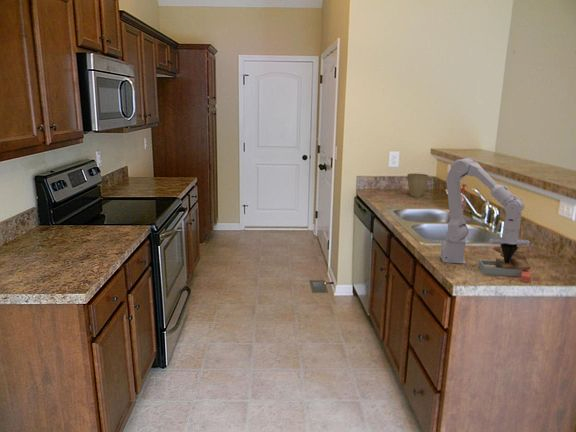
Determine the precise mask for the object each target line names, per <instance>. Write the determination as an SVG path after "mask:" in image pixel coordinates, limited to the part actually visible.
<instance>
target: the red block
mask: <svg viewBox="0 0 576 432" xmlns="http://www.w3.org/2000/svg"><path fill="white" fill-rule="evenodd" d="M531 272H532V269H530V270H525V269H522V274H521V277H520V282H524V283H529V284H530V280H531Z"/></svg>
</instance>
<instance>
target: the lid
mask: <svg viewBox="0 0 576 432" xmlns="http://www.w3.org/2000/svg"><path fill="white" fill-rule="evenodd" d="M495 261H497V262H498V263H499V265H500V266H501V267H502V268H509V269H525V270H531V267H530V265H527V264H526V263H525V262H524V261H522V260H517V259H514V258H513V257H511V259H510V262H509V263H506V262H504V258H495Z"/></svg>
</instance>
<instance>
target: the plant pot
mask: <svg viewBox="0 0 576 432" xmlns="http://www.w3.org/2000/svg"><path fill="white" fill-rule="evenodd" d="M429 176H430V175H429V174H425V173H417V172H416V173H407V185H408V190H409V193H410V196H411V197H413V196H415V197H414V198H422V196H423V194H424V192H425V189H426V186H427V183H428V180H429Z"/></svg>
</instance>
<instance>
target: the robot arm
mask: <svg viewBox="0 0 576 432" xmlns="http://www.w3.org/2000/svg"><path fill="white" fill-rule="evenodd" d="M466 176H471V177H474V178H476V179H478V180H479V181H480V182H481V183H482V184H483V185H485V187H487V188H488V189H489V190H490V195H491V196H492V197H493V198H494V199H495V200H496V201H497V202H498V203H499V204H500V205H501V206H502V207H503V208H504V212H505V215H504V221H503V230H502V235H501V237H496V238H495V237H493V238H492V237H491V238H489V242H488V243H489V244H490V245H499V246H501V248H502V251H503V255H504V256H503V259H504V262H506V263H509V262H510V259H511V257H512V255H513V254H514V252H515V251H518V248H519V247H518V246H524V247H525V246H526V247H530V243H531V242H530V240H528V239H527V240H526V239H520V238H519V235H520V229H521V223H522V222H521V221H522V212H523V211H524V209H525V203H524V201H523V199H521V198H519V197H518V196H517V194H516V195H514V194H513V193H512V192H511V191H510V189H509V187H508V186H507V185H503V184H498V183H497V182H496V181H495V179H493V178H492V177H491V175H489V173H488V172H487V171H485V169H484V168H483V167H482V165H480V163H478V162H477V161H475V159H473V158H472V157H465V158H458V159H456V160H454V162H453V163H452V164H451V165H450V169H449V171H448V173H447V175H446V178H445V180H446V190H447V192H446V193H447V201H448V210H449V211H448V212H449V213H448V214H449V221H448V224H447V231H446V238H447V239H443V240H441V245H440V246H441V247H440V254H439V257H440V259H441V260H442V262H443V263H448V264H449V263H450V264H452V263H453V264H467V262H466V259H465V252H466V251H465V250H466V244H467V243H466V242H467V240H466V237H468V236H469V233H470V231H469V230H470V229H469V228H468V226H467V222H466V219H465V218H464V214H463V213H464V212H463V203H462V190H461V181H462V180H463V179H464V177H466Z"/></svg>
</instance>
